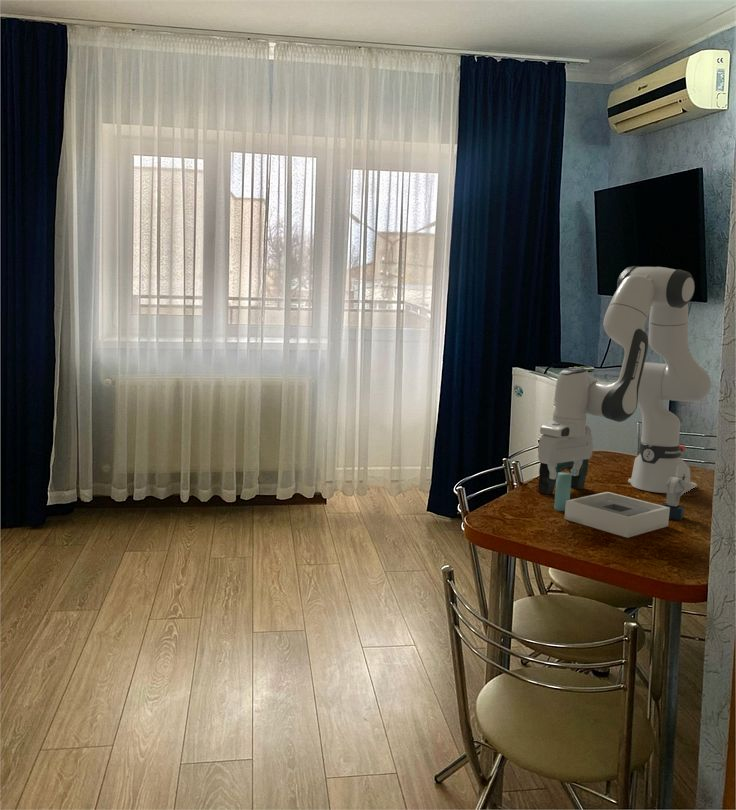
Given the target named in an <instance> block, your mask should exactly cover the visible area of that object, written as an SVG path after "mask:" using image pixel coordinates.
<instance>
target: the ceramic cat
mask: <svg viewBox="0 0 736 810" xmlns="http://www.w3.org/2000/svg"><path fill="white" fill-rule="evenodd" d="M538 450H539V444H538V448H537V451H538ZM539 463H540V464H539V469H538V475H539V476H538V483H537V485H538V487H537V488H538V491H540V492H542V493H545V494H544V495H546V494H548V495H552V493H554V488H555V487H556V479H550V477H549V476H550V472H549V469H548V466H547V465H548V464H545V463H541V462H539ZM573 465H574V462H573V461H570V462H563V463H557V467H555V468H556V472H557V473H559V472H562V471H565V470H568V473H570V472H571V469H572V468H573ZM588 468H589V459H584V460H583V463H582V465H581V467H580V469H579V475H578V476H572V478H571V487H572V488H573V489H575V490H577V489H578V490H582V489H584V488H585V482H586V479H587V476H588V475H587V474H588V472H589V471H588V470H589V469H588ZM538 491H537V492H538ZM542 493H541V494H542Z"/></svg>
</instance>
